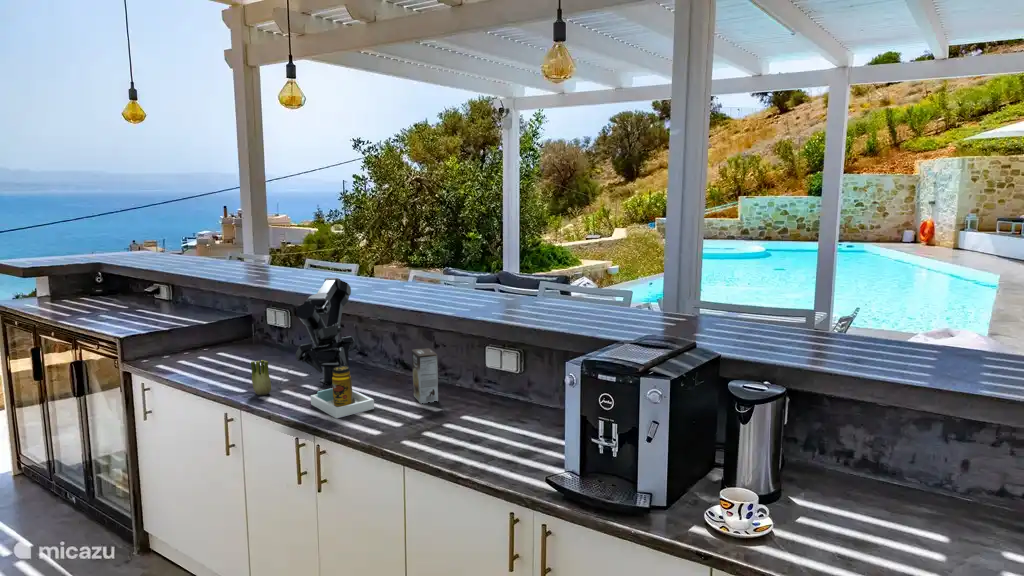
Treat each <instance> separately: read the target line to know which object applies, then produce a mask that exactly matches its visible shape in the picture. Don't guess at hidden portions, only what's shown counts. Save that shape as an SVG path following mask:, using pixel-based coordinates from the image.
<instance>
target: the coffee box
mask: <svg viewBox="0 0 1024 576" xmlns="http://www.w3.org/2000/svg"><path fill="white" fill-rule="evenodd" d="M411 363H412V365H411V366H412V385H413V387H412V389H413V390H412V391H413V398H415V399H416V400H417V401H418V402H419V404H421V405H422V403H423V404H428V402H430V403H435V402H434V401H437V402H439V374H438V373H439V372H438V371H439V369H438V354H437V353H436V351H434V350H433V349H431V348H429V347H428V348H416V349H411Z"/></svg>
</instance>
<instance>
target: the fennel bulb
mask: <svg viewBox="0 0 1024 576" xmlns="http://www.w3.org/2000/svg"><path fill="white" fill-rule="evenodd" d="M250 365H251V367H250V368H251V384H252V387H253V391H254V393H255V394H256V395H257V396H265V395H268V394H270V393H271V391H272V381H271V377H270V373H269V361H268V360H264V359H261V360H256V361H255V360H253V361H250Z"/></svg>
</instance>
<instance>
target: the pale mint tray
mask: <svg viewBox="0 0 1024 576" xmlns="http://www.w3.org/2000/svg"><path fill="white" fill-rule="evenodd" d="M352 395H353V397H354V400H355V403H353V404H349V405H345V406H341V407H336V406H334V405H332V402H331V401H324V400H322V399H320V398H318V395H317V393H316V394H311V395H310V404H311V406H313V407H315V408H317V409H318V410H320V411H322V412H324V413H326V415H329V416H331V417H333V418H335V419H339V418H343V417H346V416H347V417H348V416H350V415H355V414H359V413H363V412H367V411H371V410H374V409H375V400H374V398H372V397H370V396H367V395H365V394H363V393H360V392H358V391H357V390H354V389H352Z"/></svg>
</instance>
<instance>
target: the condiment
mask: <svg viewBox="0 0 1024 576" xmlns="http://www.w3.org/2000/svg"><path fill="white" fill-rule="evenodd" d="M350 371H351V369H350V367H349V366H348V367H346V366H345V365H343V366H341V367H336V368H334V369H333V377H332V384H331V386H332V388H333V400H331V402H332V405H334V406H336V407H341V406H345V405H349V404H353V403H355V400H354V397H353V395H352V390H353V381H352V375H351V372H350Z"/></svg>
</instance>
